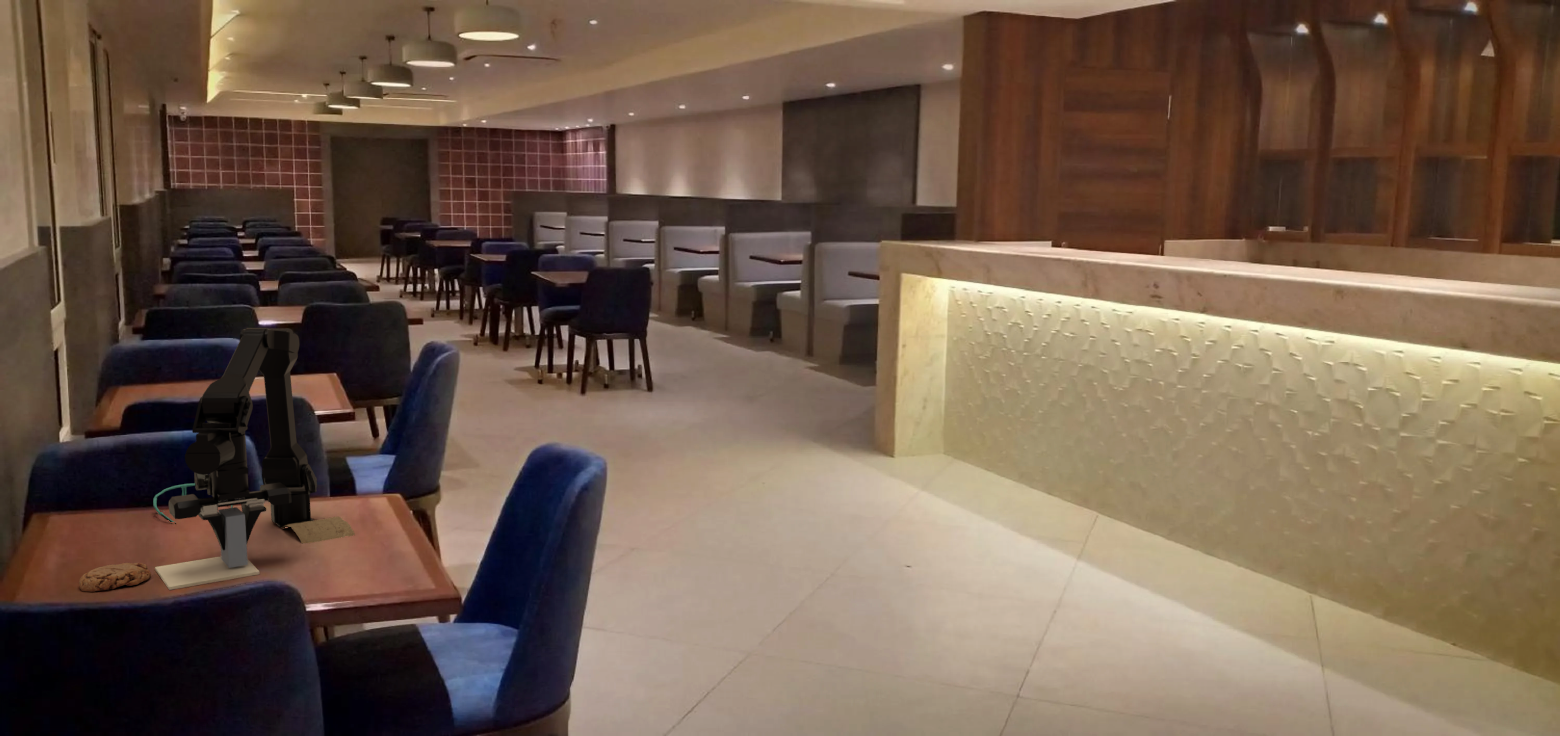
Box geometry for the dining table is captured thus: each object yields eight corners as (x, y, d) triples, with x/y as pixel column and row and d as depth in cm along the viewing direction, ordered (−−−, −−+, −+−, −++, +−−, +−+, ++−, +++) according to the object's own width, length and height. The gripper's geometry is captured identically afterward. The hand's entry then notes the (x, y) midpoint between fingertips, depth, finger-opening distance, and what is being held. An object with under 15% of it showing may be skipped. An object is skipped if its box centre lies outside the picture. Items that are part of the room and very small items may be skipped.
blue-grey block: (240, 555, 205) (237, 506, 204) (248, 564, 200) (245, 514, 199) (221, 558, 203) (218, 509, 202) (229, 567, 199) (226, 517, 197)
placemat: (241, 555, 209) (241, 552, 208) (259, 573, 198) (259, 571, 198) (155, 569, 200) (154, 566, 200) (169, 589, 190) (169, 586, 190)
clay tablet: (357, 538, 222) (356, 525, 221) (303, 548, 215) (302, 534, 215) (330, 522, 233) (329, 509, 232) (278, 531, 226) (277, 518, 226)
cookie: (65, 590, 190) (63, 572, 190) (122, 571, 200) (121, 554, 200) (108, 597, 187) (107, 580, 186) (164, 578, 197) (163, 561, 196)
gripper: (273, 446, 211) (277, 528, 213) (159, 459, 200) (165, 545, 202) (290, 457, 202) (294, 542, 205) (172, 471, 191) (178, 561, 193)
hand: (234, 547), depth 201 cm, fingers closed on blue-grey block, 3 cm apart
